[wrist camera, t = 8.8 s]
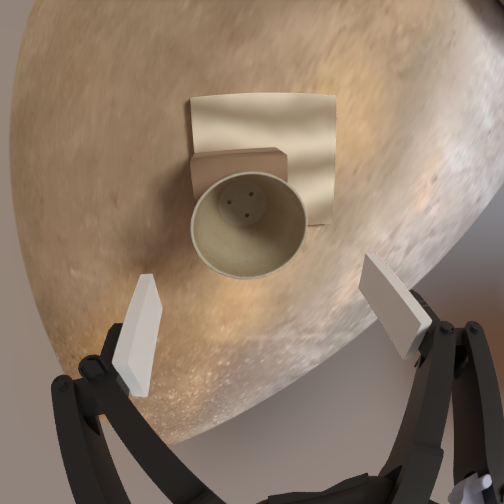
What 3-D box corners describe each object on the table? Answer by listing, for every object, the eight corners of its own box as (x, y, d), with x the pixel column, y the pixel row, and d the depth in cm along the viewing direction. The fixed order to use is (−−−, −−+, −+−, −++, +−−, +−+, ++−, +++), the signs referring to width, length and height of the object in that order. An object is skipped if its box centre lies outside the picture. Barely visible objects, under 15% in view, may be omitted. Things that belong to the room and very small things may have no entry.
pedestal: (194, 153, 32) (189, 161, 27) (275, 147, 33) (287, 155, 27) (202, 227, 37) (200, 248, 31) (276, 220, 38) (286, 240, 32)
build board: (190, 98, 29) (190, 97, 28) (333, 95, 31) (336, 95, 30) (203, 230, 38) (203, 234, 37) (329, 220, 40) (331, 223, 39)
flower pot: (228, 258, 33) (232, 297, 26) (177, 190, 28) (166, 215, 22) (303, 215, 31) (325, 245, 25) (260, 138, 26) (273, 148, 20)
